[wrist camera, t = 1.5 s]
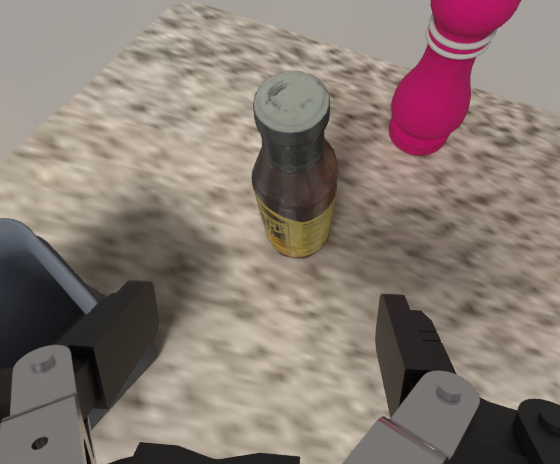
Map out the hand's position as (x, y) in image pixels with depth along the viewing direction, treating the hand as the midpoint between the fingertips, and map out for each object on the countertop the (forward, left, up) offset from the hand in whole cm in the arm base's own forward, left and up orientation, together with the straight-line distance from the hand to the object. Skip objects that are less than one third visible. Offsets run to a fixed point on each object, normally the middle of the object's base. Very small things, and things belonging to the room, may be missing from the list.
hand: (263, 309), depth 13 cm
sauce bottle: (-1, -12, -22) cm, 25 cm away
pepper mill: (-15, -23, -22) cm, 35 cm away
